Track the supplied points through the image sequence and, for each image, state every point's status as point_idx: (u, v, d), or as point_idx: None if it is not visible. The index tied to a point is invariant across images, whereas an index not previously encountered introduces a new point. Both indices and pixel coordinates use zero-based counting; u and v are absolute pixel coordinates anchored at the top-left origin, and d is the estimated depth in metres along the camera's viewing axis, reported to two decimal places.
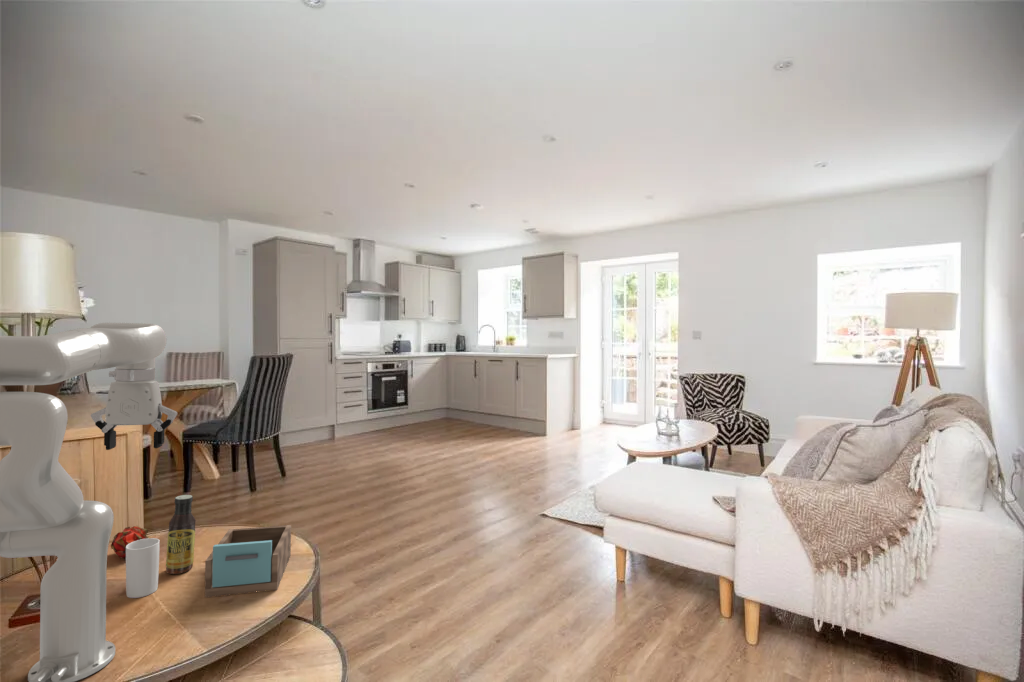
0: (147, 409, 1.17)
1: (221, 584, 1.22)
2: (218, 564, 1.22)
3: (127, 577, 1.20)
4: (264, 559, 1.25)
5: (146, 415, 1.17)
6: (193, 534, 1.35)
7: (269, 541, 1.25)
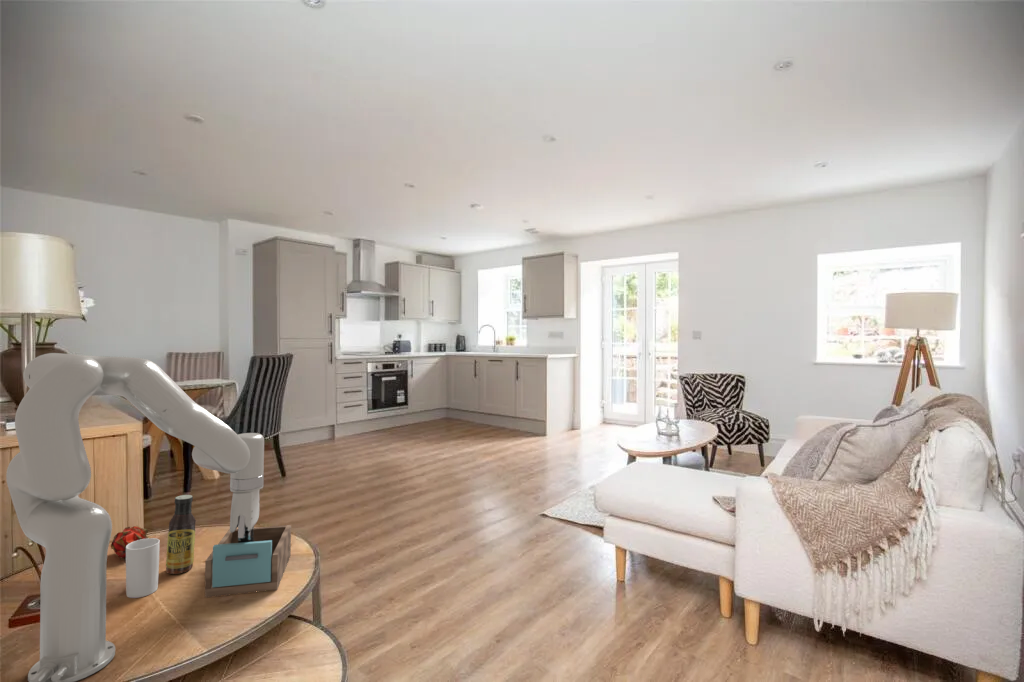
0: None
1: (221, 584, 1.22)
2: (218, 564, 1.22)
3: (127, 577, 1.20)
4: (264, 559, 1.25)
5: None
6: (193, 534, 1.35)
7: (269, 541, 1.25)
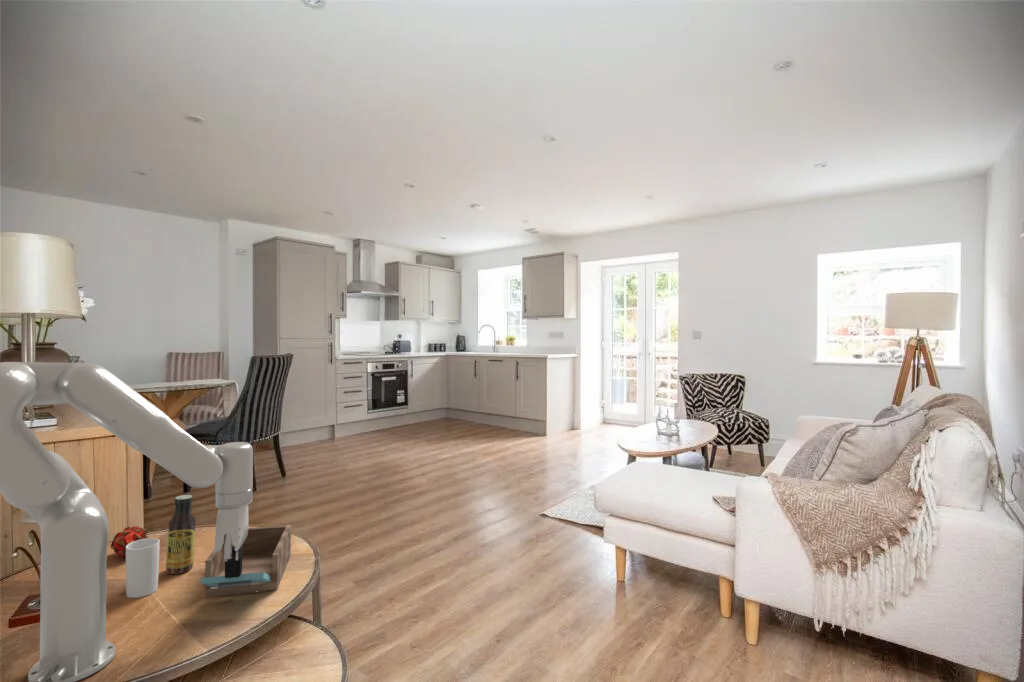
0: None
1: None
2: (211, 584, 1.17)
3: (127, 577, 1.20)
4: (259, 580, 1.20)
5: None
6: (193, 534, 1.35)
7: (261, 575, 1.17)
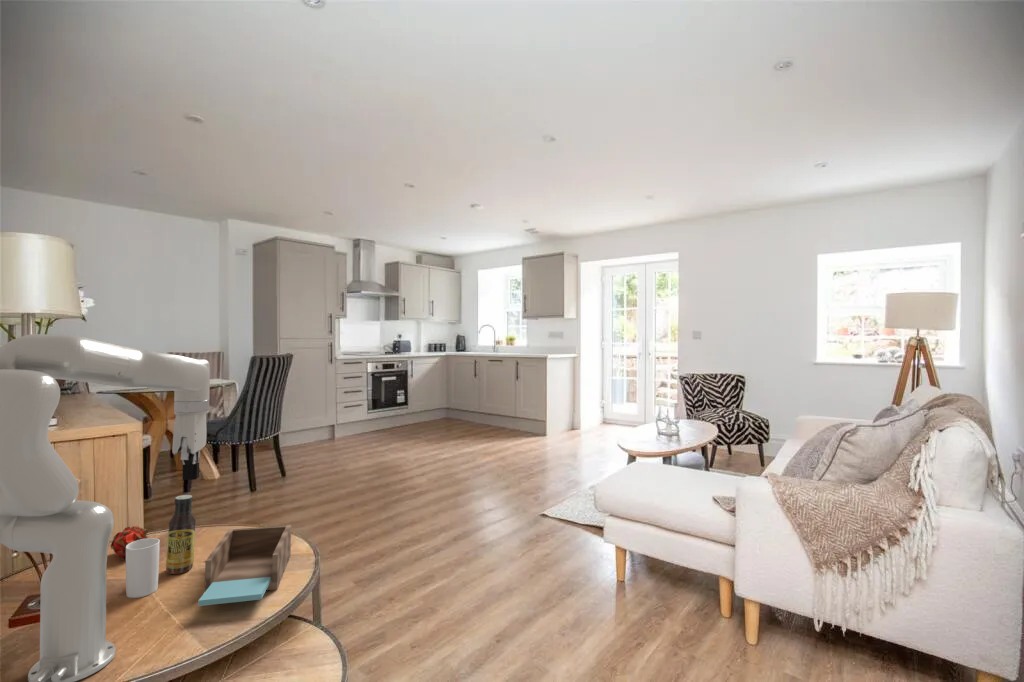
0: None
1: None
2: None
3: (127, 577, 1.20)
4: None
5: None
6: (193, 534, 1.35)
7: (259, 597, 1.15)
